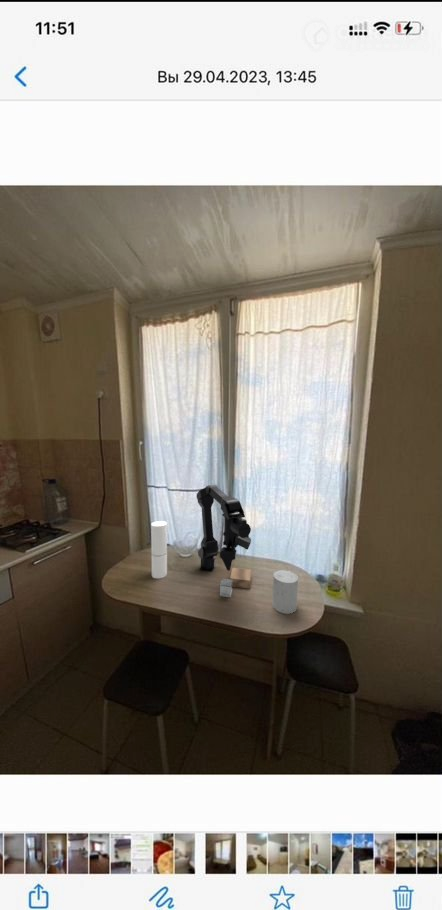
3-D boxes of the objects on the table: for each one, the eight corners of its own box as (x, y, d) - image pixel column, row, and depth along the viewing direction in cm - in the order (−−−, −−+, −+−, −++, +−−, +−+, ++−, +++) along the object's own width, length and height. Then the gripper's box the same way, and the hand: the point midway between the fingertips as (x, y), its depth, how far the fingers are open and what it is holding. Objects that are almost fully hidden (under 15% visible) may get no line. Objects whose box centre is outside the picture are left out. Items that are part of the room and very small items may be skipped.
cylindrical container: (168, 570, 123) (168, 521, 121) (164, 579, 116) (163, 526, 114) (154, 569, 123) (154, 520, 121) (149, 577, 116) (148, 525, 114)
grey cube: (219, 596, 104) (220, 584, 104) (221, 589, 109) (222, 578, 108) (230, 597, 103) (230, 586, 103) (232, 591, 108) (232, 579, 107)
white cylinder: (278, 594, 106) (279, 566, 105) (300, 604, 100) (302, 575, 99) (267, 606, 98) (268, 576, 97) (290, 617, 92) (292, 586, 91)
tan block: (229, 586, 111) (229, 578, 111) (232, 575, 120) (232, 567, 120) (249, 589, 109) (250, 580, 109) (251, 577, 118) (251, 569, 118)
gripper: (248, 539, 94) (247, 579, 95) (251, 522, 112) (250, 556, 114) (219, 537, 96) (219, 576, 97) (226, 521, 114) (226, 553, 116)
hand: (230, 564), depth 106 cm, fingers open, 9 cm apart
